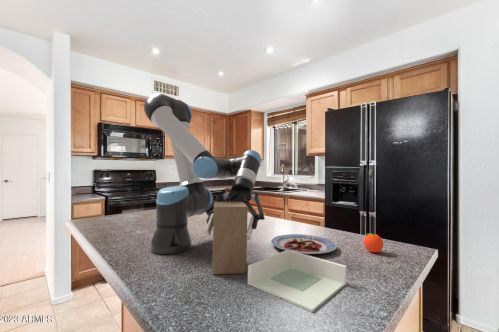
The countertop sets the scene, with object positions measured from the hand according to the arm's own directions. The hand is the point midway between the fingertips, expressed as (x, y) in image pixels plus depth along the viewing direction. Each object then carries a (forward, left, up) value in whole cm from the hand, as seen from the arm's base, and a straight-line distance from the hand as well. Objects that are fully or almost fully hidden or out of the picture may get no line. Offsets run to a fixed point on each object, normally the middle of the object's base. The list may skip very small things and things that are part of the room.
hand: (227, 235), depth 77 cm
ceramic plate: (+20, +32, -11) cm, 40 cm away
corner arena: (+22, -3, -11) cm, 25 cm away
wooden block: (0, +2, -11) cm, 11 cm away
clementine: (+46, +36, -11) cm, 60 cm away
